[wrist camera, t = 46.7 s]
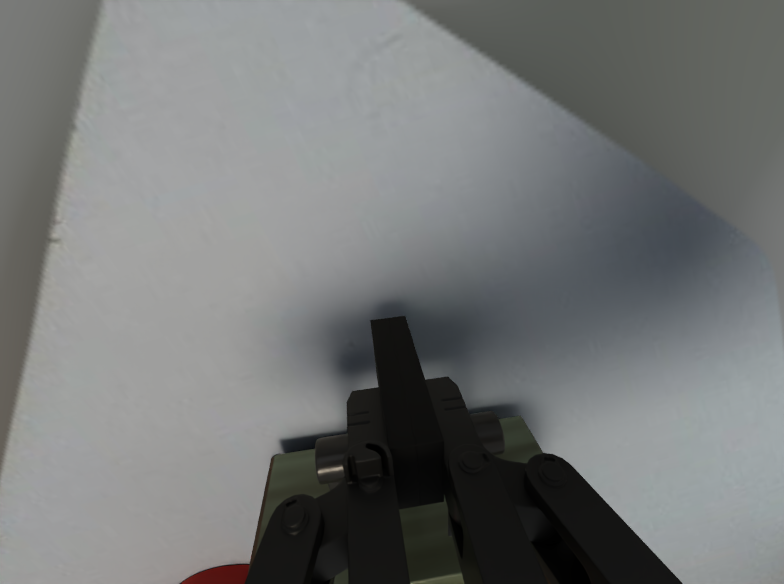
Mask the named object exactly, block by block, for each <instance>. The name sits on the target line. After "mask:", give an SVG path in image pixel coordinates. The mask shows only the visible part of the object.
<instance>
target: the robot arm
mask: <svg viewBox="0 0 784 584" xmlns="http://www.w3.org/2000/svg"><path fill="white" fill-rule="evenodd" d="M371 329H372V337H373V346H374V355H375V363H376V372H377V379H378V386H379V387H378V388H371V389H364V390H357V391H352V393H351V395H350V397H349V399H348V401H347V426H348V427H347V432H348V451H347V452H346V454H345V455H344V459H343V463H342V465H343V470H344V475H345V477H344V478H343V479H342V481H341V482H340V483H339V484H338V485H337V486H336V487H335V488H333V489H332V490H330V491H329V492H327V493H325V494H323V495H321V496H319V497H317V498H315V499H314V498H313V497H312V496H309V495H306V494H299V495H293V496H291V497H289V498H287V499H285V500H284V501H283V502H282V503H281V504H279V505H278V506H277V507H276V509H275V510H274V512H273V514H272V516H271V517H270V520H269V522H268V525H267V527H266V530H265V532H264V535H263V538H262V540H261V543H260V545H259V548H258V550H257V553H256V555H255V558H254V560H253V563H252V565H251V568H250V571H249V573H248V576H247V578H246V581H245V583H244V584H334V580H335V576H336V575H338V574H339V573H341V572H343V571H344V570H346V569H348V584H410V579H409V572H408V565H407V559H406V552H405V545H404V539H403V532H402V525H401V518H400V512H399V509H405V508H411V507H417V506H423V505H429V504H434V503H440V502H444V495H445V499H446V503H447V507H448V536H452V537H453V541H454V545H455V549H456V553H457V557H458V561H459V565H460V568H461V572H462V576H463V580H464V584H548V582H547V580H546V578H545V576H546V577H547V579H548V580H549V582H550V583H551V584H683V583H682V582H681V581H680V580H679V579H678V578H677V577H676V576H675V575H674V574H673V573H672V572H671V571H670V570H669V569H668V568H667V566H666V565H665V564H664V563H663V562H662V561H661V560H660V559H659V558H658V557H657V556H656V555H655V554H654V553H653V552H652V551H651V549H650V548H649V547H648V546H647V545H646V544H645V543H644V542H643V541H642V540H641V539H640V538H639V537H638V536H637V535H636V534H635V532H634V531H633V530H632V529H631V528H630V527H629V526H628V525H627V524H626V523H625V522H624V521H623V520H622V519H621V518H620V517H619V515H618V514H617V513H616V512H615V511H614V510H613V509H612V508H611V507H610V506H609V505H608V504H607V503H606V502H605V501H604V500H603V498H602V497H601V496H600V495H599V494H598V493H597V492H596V491H595V490H594V489H593V488H592V487H591V486H590V485H589V484H588V483H587V481H586V480H585V479H584V478H583V477H582V476H581V475H580V474H579V473H578V472H577V471H576V470H575V469H574V468H573V467H572V466H571V465H570V464H569V463H568V462H567V461H565V460H564V459H563V458H560V457H558V456H556V455H553V454H547V453H542V454H537V455H534V456H533V457H531V458H530V459H529V460H528V463H521V462H514V461H508V460H504V459H500V458H498V457H496V456H494V455H493V454H491V453H490V452H489V451H488V450H487V449H486V448H485V447H484V446H483V444H482V442H481V441H480V438H479V436H478V433H477V431H476V429H475V426H474V424H473V422H472V419H471V417H470V414H469V412H468V410H467V408H466V405H465V402H464V400H463V399H462V395H461V393H460V390H459V388H458V386H457V385H456V384H455V383H454V382H453V381H452V380H451V379H450V378H449V377H441V378H434V379H427V380H425V378H424V375H423V372H422V368H421V365H420V362H419V359H418V356H417V352H416V349H415V346H414V343H413V339H412V336H411V333H410V330H409V326H408V323H407V320H406V317H405V316H400V317H392V318H384V319H376V320H371ZM544 574H545V575H544Z"/></svg>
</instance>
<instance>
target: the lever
mask: <svg viewBox="0 0 784 584" xmlns="http://www.w3.org/2000/svg"><path fill="white" fill-rule="evenodd" d="M248 570H249V565H230V566H222V567H217V568H213V569H209V570H206V571H203V572H200V573H198V574H196V575H193V576H191V577H190V578H188V579H186V580H185V581H183V582H182V583H181V584H244V583H245V581H246V578H247V575H248Z"/></svg>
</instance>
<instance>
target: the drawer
mask: <svg viewBox="0 0 784 584" xmlns="http://www.w3.org/2000/svg"><path fill="white" fill-rule="evenodd" d="M470 417H471V419H472V422H473V424H474V426H475V429H476V431H477V433H478V436H479V438H480V441H481V442H482V444H483V446H484V447H485V448H486V449H487V450H488V451H489V452H490V453H491V454H493V455H494V456H496V457H498V458H500V459H504V460H508V461H514V462H521V463H528V460H529V459H530V458H531V457H533V456H534V455H537V454H542V453H543V452H542V451H541V449H540V447H539V446H538V444H537V442H536V441H535V439H534V437H533V435H532V434H531V432H530V430H529V429H528V427H527V425H526V424H525V422H524V420H523V419H522V417H521V416H516V417H509V418H503V419H498V417H497V415H496V414H495V413H494V412H492V411H488V412H482V413H475V414H470ZM347 451H348V434H343V435H337V436H330V437H324V438H319V439H317V441H316V444H315V449H310V450H304V451H298V452H291V453H285V454H279V455H275V457H274V462H273V467H272V472H271V477H270V482H269V487H268V492H267V498H266V503H265V508H264V513H263V518H262V523H261V528H260V534H259V539H258V544H257V549H256V553H257V550H258V548H259V545H260V543H261V540H262V538H263V535H264V532H265V530H266V527H267V525H268V522H269V520H270V517H271V516H272V514H273V512H274V510H275V509H276V507H277V506H278V505H279V504H281V503H282V502H283V501H284V500H285V499H287V498H289V497H291V496H293V495H299V494H306V495H309V496H312V497H313V498H314V499H315V498H317V497H319V496H321V495H323V494H325V493H327V492H329V491H330V490H332V489H333V488H335V487H336V486H337V485H338V484H339V483H340V482H341V481H342V479H343V478H344V477H345V475H344V470H343V465H342V463H343V459H344V455H345V454H346V452H347ZM399 512H400V518H401V525H402V532H403V539H404V545H405V552H406V559H407V565H408V572H409V579H410V584H464V580H463V576H462V572H461V568H460V565H459V561H458V557H457V553H456V549H455V545H454V541H453V537H452V536H448V507H447V503H446V499H445V495H444V502H440V503H434V504H429V505H423V506H417V507H411V508H405V509H399ZM255 555H256V554H255ZM544 575H545V574H544ZM334 584H348V569H346V570H344V571H343V572H341V573H339V574H338V575H336V576H335V580H334Z"/></svg>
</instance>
